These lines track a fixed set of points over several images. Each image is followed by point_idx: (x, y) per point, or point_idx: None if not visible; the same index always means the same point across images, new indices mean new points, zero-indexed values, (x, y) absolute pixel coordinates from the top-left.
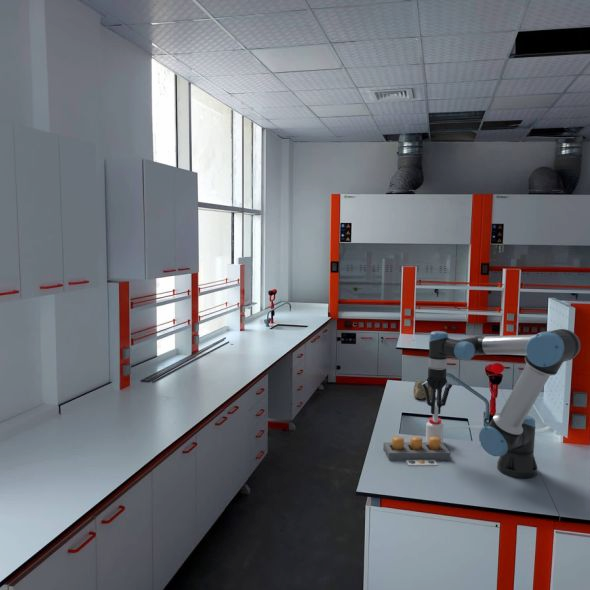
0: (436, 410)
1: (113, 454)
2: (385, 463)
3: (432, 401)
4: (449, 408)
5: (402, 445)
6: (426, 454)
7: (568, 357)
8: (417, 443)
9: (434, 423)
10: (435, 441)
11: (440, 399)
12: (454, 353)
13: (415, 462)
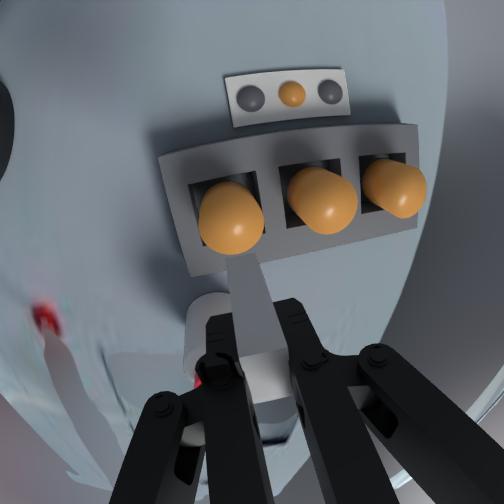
0: (257, 324)
1: None
2: (410, 94)
3: (356, 408)
4: None
5: (380, 169)
6: (272, 133)
7: None
8: (323, 172)
9: None
10: (229, 192)
11: (222, 472)
12: None
13: (317, 90)
